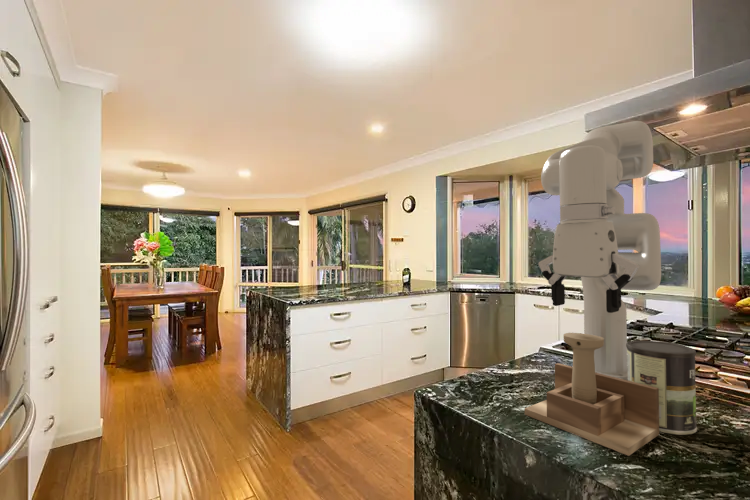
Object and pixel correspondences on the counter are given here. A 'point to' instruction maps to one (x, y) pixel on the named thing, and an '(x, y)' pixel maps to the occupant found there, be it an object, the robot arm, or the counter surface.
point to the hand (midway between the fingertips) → (584, 308)
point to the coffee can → (667, 381)
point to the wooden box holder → (602, 411)
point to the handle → (584, 365)
